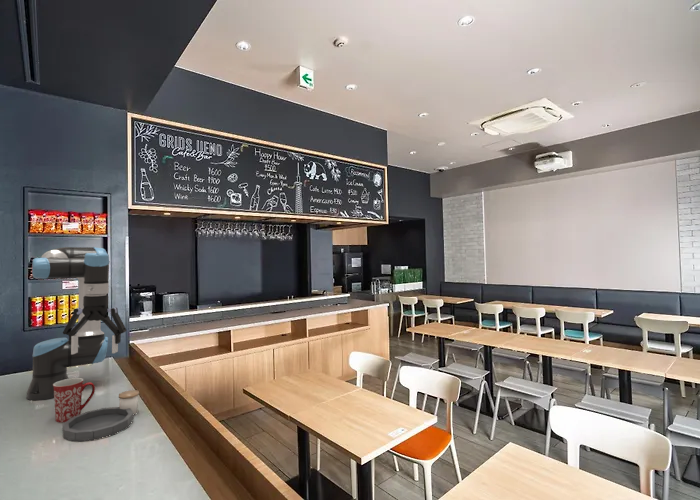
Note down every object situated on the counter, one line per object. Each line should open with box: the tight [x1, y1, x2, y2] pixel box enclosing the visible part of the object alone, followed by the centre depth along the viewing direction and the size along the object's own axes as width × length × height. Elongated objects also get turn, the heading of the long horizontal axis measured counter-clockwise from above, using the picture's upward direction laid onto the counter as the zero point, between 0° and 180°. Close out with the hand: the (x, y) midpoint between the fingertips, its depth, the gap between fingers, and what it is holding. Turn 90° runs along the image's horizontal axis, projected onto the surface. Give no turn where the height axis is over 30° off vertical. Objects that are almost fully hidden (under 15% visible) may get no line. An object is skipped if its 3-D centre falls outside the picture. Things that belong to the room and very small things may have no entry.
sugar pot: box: [118, 389, 140, 415], centre depth 139 cm, size 7×7×8 cm
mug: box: [53, 377, 96, 423], centre depth 136 cm, size 13×9×14 cm
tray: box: [62, 406, 134, 443], centre depth 128 cm, size 20×20×3 cm
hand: (94, 353), depth 133 cm, fingers open, 13 cm apart
